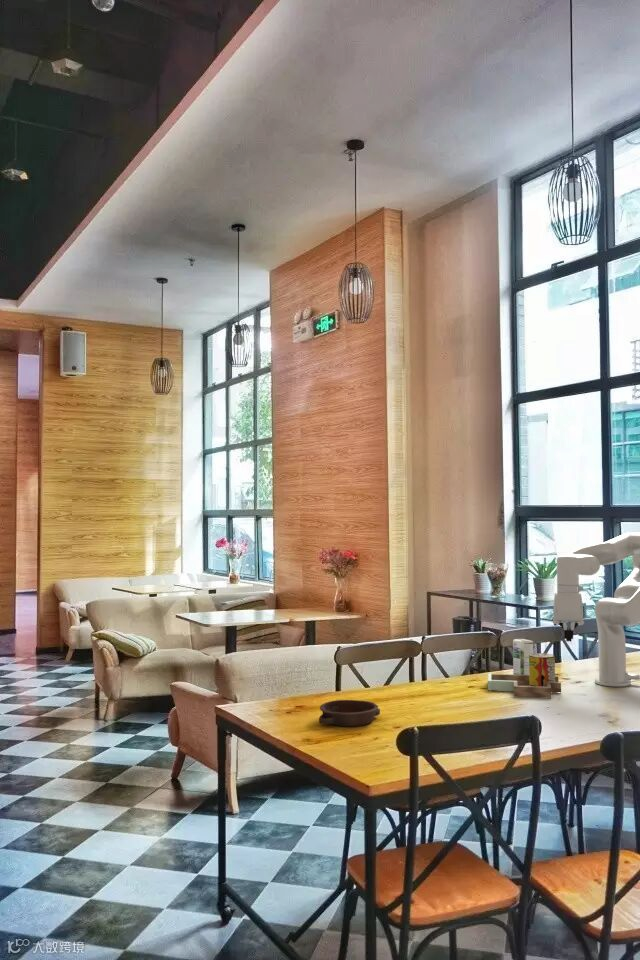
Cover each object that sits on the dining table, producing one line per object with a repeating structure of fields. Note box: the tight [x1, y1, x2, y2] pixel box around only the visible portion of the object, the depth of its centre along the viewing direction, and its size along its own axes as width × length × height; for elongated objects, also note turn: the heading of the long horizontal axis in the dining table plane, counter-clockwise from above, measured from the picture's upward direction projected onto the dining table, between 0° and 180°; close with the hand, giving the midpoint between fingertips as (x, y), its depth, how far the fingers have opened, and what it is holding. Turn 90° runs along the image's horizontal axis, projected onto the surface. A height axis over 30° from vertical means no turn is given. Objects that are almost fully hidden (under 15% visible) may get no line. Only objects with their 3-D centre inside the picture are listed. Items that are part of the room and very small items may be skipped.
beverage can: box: [529, 652, 556, 687], centre depth 288 cm, size 9×9×12 cm
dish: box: [318, 699, 381, 727], centre depth 242 cm, size 18×22×5 cm
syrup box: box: [512, 638, 534, 675], centre depth 309 cm, size 6×6×14 cm
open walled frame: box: [491, 673, 562, 698], centre depth 285 cm, size 24×22×4 cm
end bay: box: [487, 672, 517, 692], centre depth 291 cm, size 10×14×4 cm
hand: (568, 640), depth 286 cm, fingers closed
